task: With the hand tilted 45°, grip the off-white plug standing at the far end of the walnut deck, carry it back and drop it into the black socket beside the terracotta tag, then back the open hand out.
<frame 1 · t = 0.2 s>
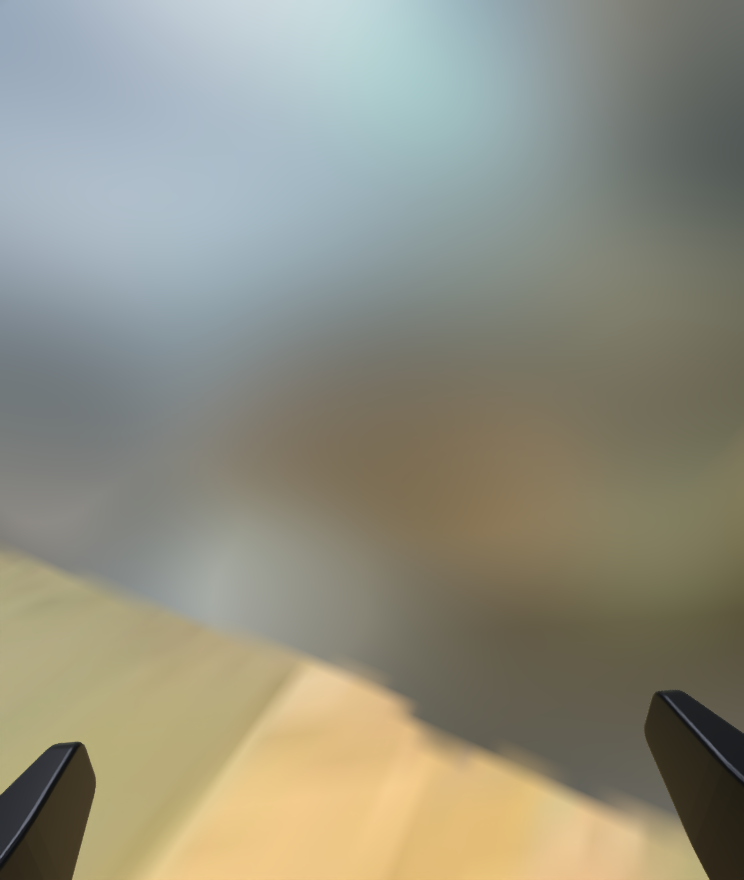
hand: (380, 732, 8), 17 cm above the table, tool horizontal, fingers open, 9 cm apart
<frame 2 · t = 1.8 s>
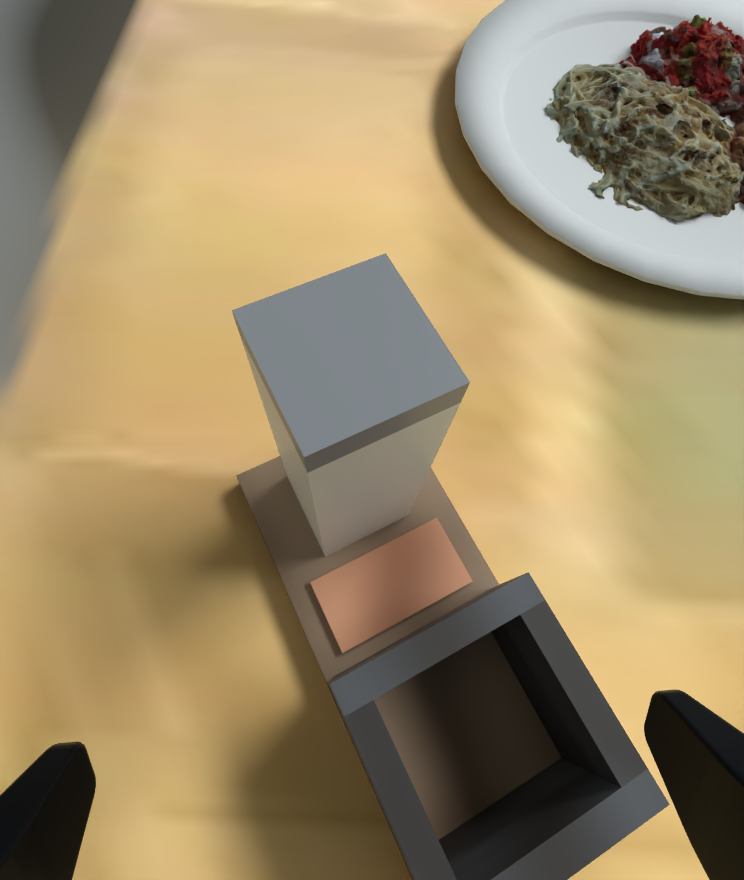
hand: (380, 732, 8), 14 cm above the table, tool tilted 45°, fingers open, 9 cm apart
plug: (346, 495, 23), point 1 cm above the table, touching socket deck
plated food: (666, 136, 35), on the table
socket deck: (403, 613, 22), on the table
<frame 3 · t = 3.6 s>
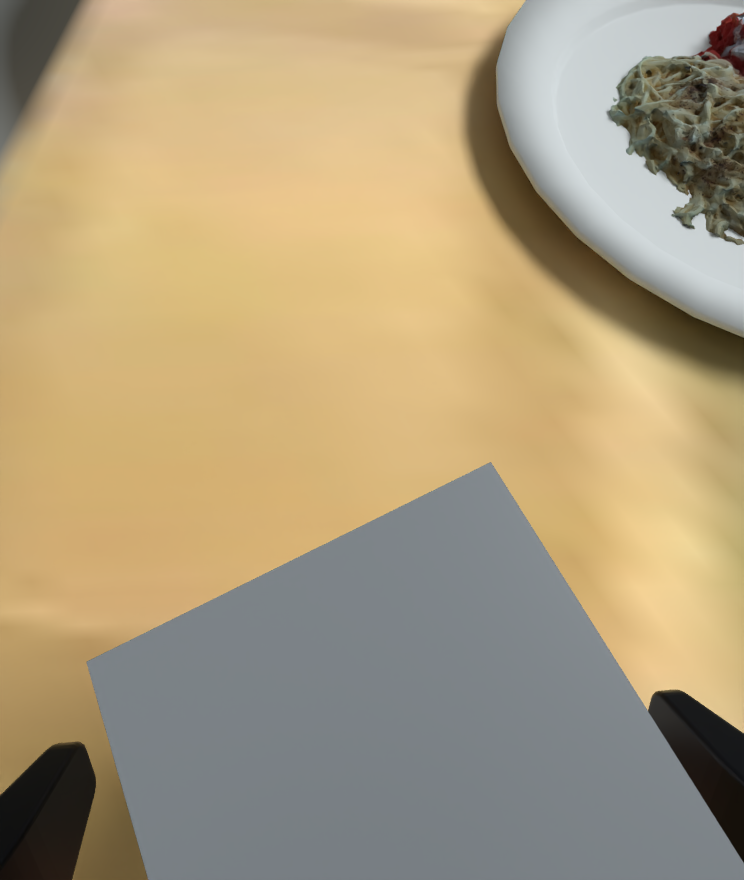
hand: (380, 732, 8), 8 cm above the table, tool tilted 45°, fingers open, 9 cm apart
plug: (363, 688, 15), point 1 cm above the table, touching socket deck
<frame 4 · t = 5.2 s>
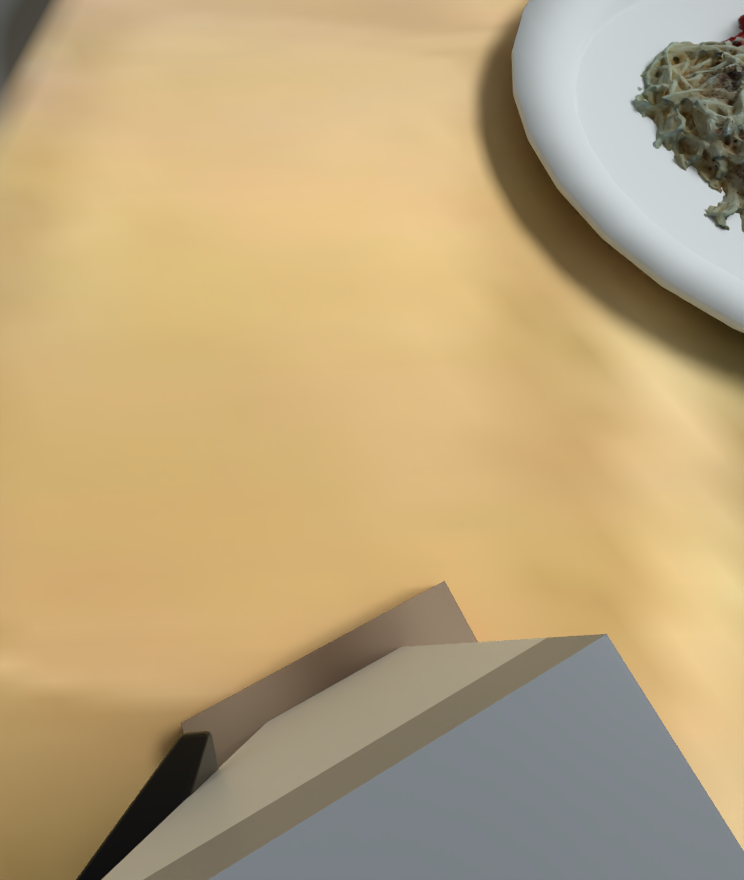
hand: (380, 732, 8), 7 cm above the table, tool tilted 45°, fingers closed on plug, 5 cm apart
plug: (369, 759, 13), point 1 cm above the table, touching gripper, socket deck
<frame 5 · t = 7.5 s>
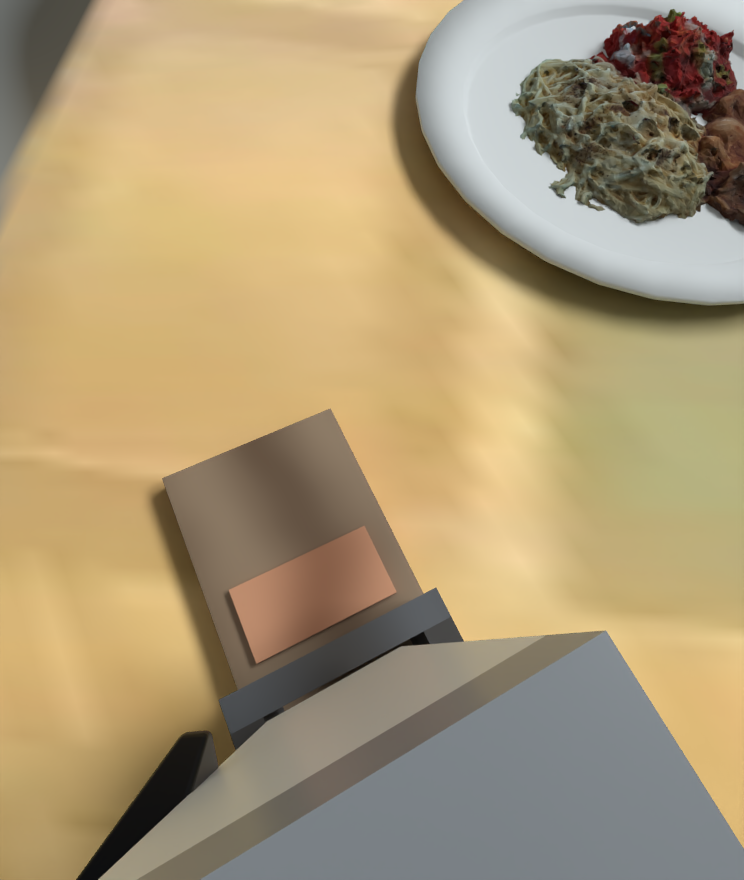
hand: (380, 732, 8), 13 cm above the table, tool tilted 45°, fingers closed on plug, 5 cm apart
plug: (369, 758, 13), point 7 cm above the table, touching gripper
plated food: (636, 134, 34), on the table
socket deck: (327, 623, 21), on the table
when the fingers open (9 cm above the table, at t = 9.9 s): plug drops 1 cm, resting on socket deck.
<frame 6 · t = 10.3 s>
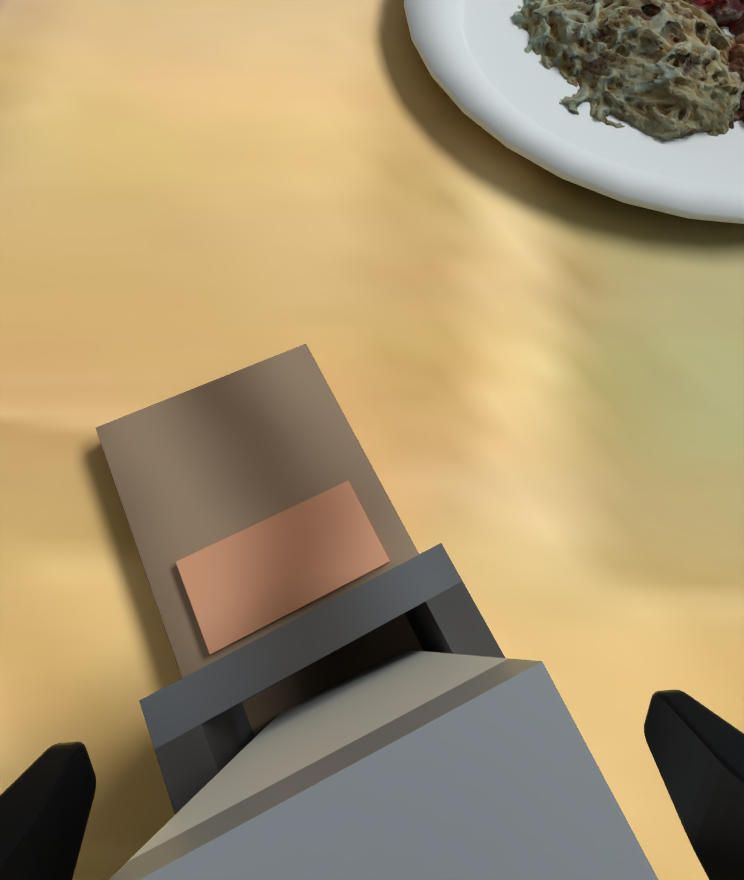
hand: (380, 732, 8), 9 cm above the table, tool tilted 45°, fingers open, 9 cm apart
plug: (372, 750, 15), point 1 cm above the table, touching socket deck
plated food: (655, 51, 30), on the table
socket deck: (304, 603, 17), on the table
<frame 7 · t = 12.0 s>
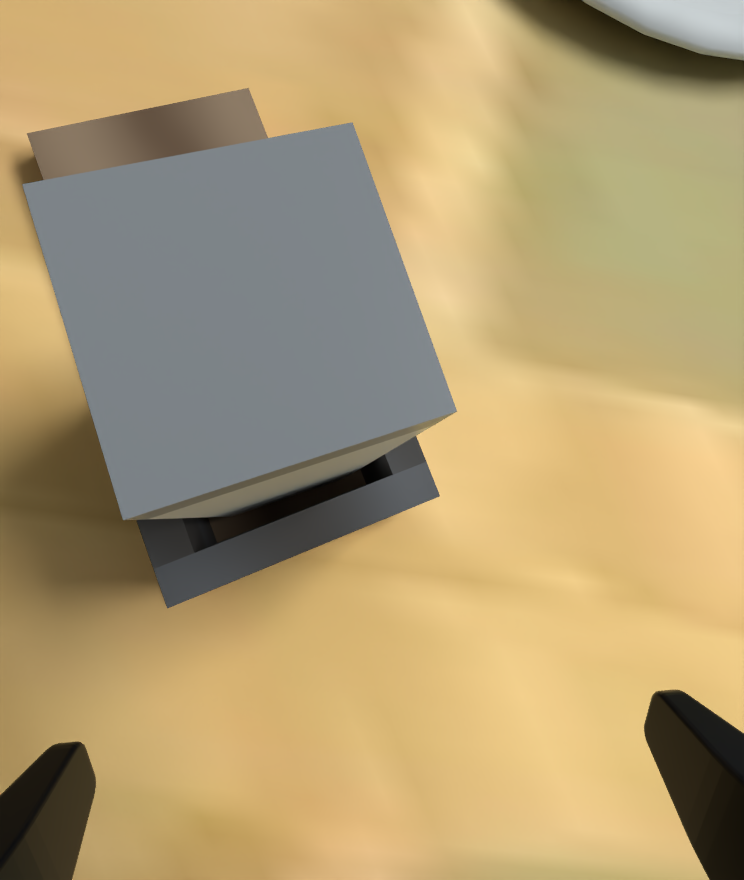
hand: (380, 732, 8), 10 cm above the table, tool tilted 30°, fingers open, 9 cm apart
plug: (271, 442, 18), point 1 cm above the table, touching socket deck
socket deck: (225, 331, 19), on the table
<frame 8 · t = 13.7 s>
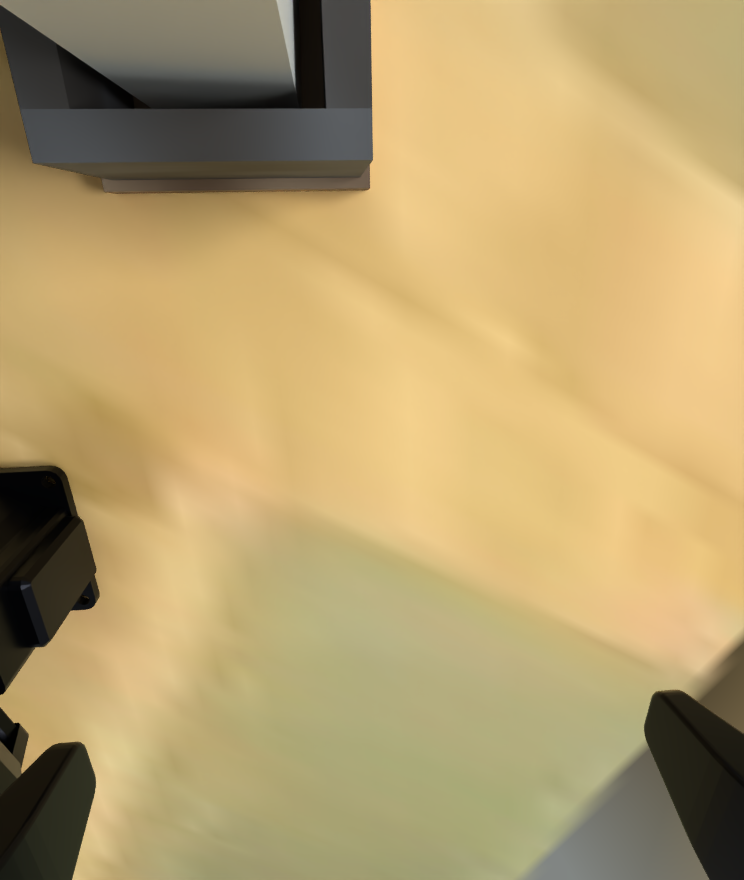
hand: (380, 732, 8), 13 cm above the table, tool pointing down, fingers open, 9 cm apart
plug: (227, 34, 14), point 1 cm above the table, touching socket deck
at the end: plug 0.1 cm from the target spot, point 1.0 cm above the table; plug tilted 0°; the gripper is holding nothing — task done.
